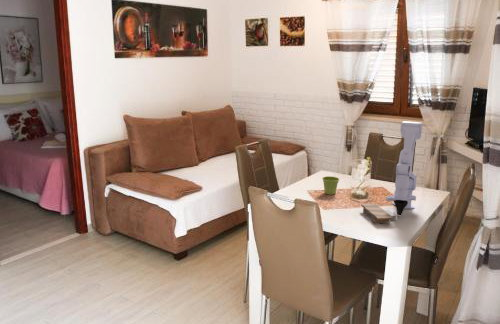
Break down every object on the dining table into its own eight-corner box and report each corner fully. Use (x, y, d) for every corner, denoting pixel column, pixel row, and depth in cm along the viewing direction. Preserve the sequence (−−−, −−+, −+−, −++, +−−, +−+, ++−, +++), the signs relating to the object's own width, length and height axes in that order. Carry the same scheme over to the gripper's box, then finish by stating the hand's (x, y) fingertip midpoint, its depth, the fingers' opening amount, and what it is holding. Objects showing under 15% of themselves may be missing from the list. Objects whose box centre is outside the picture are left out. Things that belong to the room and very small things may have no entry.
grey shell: (369, 214, 222) (369, 210, 222) (388, 214, 224) (388, 210, 223) (375, 220, 214) (376, 216, 214) (395, 219, 216) (396, 215, 215)
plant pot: (339, 196, 251) (340, 181, 249) (322, 195, 251) (323, 180, 249) (337, 191, 260) (337, 176, 258) (320, 190, 260) (321, 176, 258)
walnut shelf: (360, 210, 227) (361, 204, 227) (374, 210, 229) (375, 203, 228) (377, 225, 208) (377, 218, 207) (392, 224, 209) (393, 217, 208)
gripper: (391, 190, 212) (388, 218, 215) (420, 189, 214) (417, 216, 217) (384, 186, 219) (382, 212, 222) (413, 185, 221) (410, 211, 224)
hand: (399, 214), depth 220 cm, fingers closed
